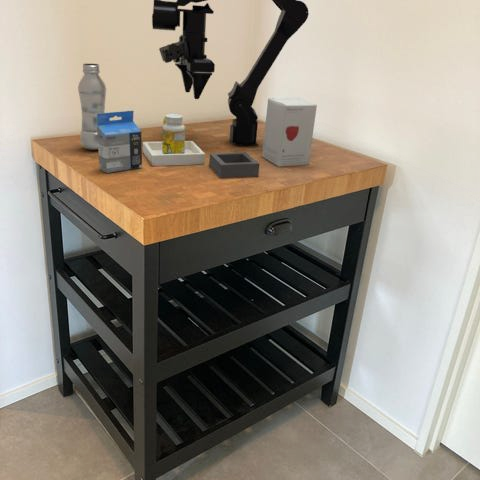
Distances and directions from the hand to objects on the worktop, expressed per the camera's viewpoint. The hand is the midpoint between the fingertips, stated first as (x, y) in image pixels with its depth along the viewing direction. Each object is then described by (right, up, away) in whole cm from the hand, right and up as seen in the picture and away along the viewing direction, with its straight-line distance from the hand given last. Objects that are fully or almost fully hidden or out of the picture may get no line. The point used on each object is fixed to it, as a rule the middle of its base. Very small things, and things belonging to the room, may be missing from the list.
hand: (191, 95), depth 138 cm
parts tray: (-4, -18, -11) cm, 21 cm away
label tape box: (-14, -22, -21) cm, 33 cm away
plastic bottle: (-23, -16, -9) cm, 29 cm away
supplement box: (+24, -18, -6) cm, 31 cm away
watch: (-7, -9, +9) cm, 14 cm away
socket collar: (+11, -22, -16) cm, 30 cm away
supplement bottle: (-3, -18, -11) cm, 21 cm away
